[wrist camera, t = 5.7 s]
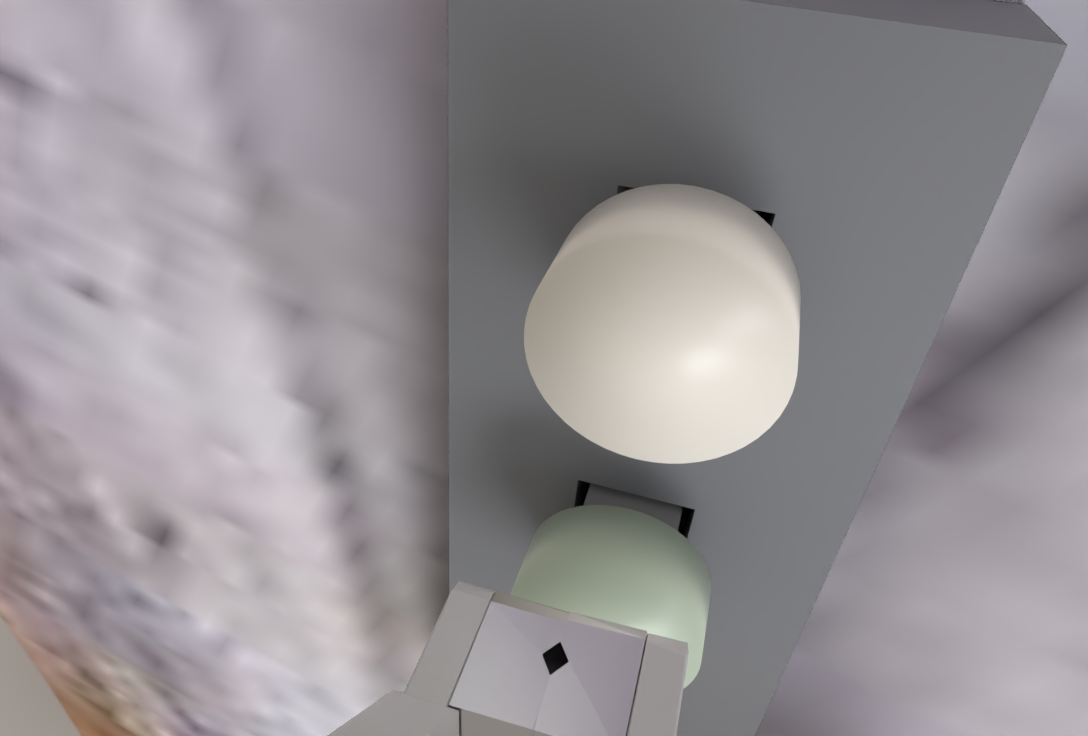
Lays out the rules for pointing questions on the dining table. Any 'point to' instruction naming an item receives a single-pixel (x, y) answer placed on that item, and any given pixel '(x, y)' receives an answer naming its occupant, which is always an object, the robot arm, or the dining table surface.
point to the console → (792, 211)
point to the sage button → (621, 568)
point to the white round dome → (667, 325)
